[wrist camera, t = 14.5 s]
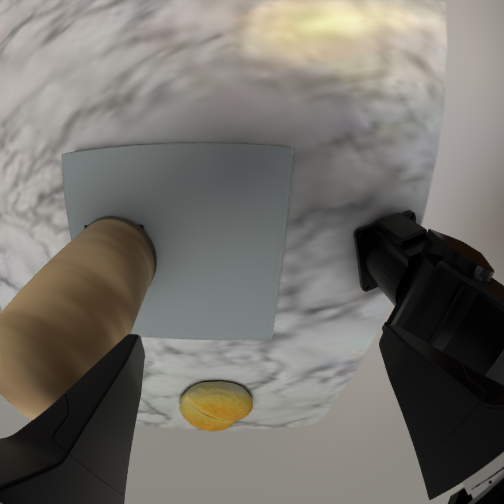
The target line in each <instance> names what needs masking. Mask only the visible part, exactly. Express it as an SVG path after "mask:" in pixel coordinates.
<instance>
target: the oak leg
mask: <svg viewBox="0 0 504 504" xmlns="http://www.w3.org/2000/svg"><path fill="white" fill-rule="evenodd" d="M156 266H157V256H156V251H155V247H154V245H153V242H152V240H151V239H150V237H149V236H148V234H147V233H146V232H145V231H144V230H143V228H141V227H140V226H139V225H138V224H136V223H135V222H133V221H132V220H130V219H127V218H125V217H121V216H113V215H112V216H105V217H102V218H99V219H97V220H95V221H93V222H92V223H91V224H89V225H88V226H87V227H86V228H85V229H84V230H83V231H82V232H81V233H80V234H79V235H77V236H76V237H75V238H74V239H73V240H72V241H71V242H70V243H68V244H67V245H66V246H65V247H64V248H63V249H62V250H61V251H60V252H58V253H57V254H56V255H55V256H54V257H53V258H52V259H51V260H50V261H49V262H48V263H47V264H46V265H45V266H44V267H43V268H42V269H41V270H40V271H39V272H38V273H37V274H36V275H35V276H34V277H33V278H32V279H31V280H30V281H29V282H28V283H27V284H26V285H25V286H24V287H23V288H22V289H21V291H20V292H19V293H18V294H17V295H16V296H15V297H14V298H13V299H12V301H11V302H10V303H9V304H8V305H7V306H6V307H5V309H4V310H3V311H2V312H1V313H0V394H1V395H2V396H3V397H4V398H5V399H6V400H7V401H8V402H9V403H10V404H12V405H13V406H14V407H15V408H16V409H17V410H19V411H20V412H21V413H22V414H24V415H25V416H27V417H28V418H30V419H31V420H33V419H35V418H36V417H37V416H39V415H40V414H41V413H42V412H44V411H45V410H46V409H47V408H49V407H50V406H51V405H52V404H53V403H54V402H55V401H56V400H57V399H58V398H59V397H61V396H62V395H63V394H64V393H66V391H67V390H68V389H69V388H70V387H71V386H72V385H73V384H74V383H75V382H76V381H78V380H79V379H80V378H81V377H82V376H83V375H84V374H85V373H86V372H87V371H88V370H89V369H90V368H91V367H92V366H94V365H95V364H96V363H97V362H98V361H99V360H100V359H101V358H102V357H103V356H104V355H105V354H107V353H108V352H109V351H110V350H111V349H112V348H113V347H114V346H115V345H116V344H117V343H119V342H120V341H121V340H122V339H123V338H124V337H125V336H126V335H128V334H131V331H132V329H133V326H134V323H135V321H136V318H137V315H138V313H139V310H140V308H141V305H142V302H143V300H144V297H145V295H146V293H147V290H148V288H149V285H150V284H151V282H152V280H153V277H154V275H155V272H156Z"/></svg>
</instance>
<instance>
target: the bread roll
mask: <svg viewBox="0 0 504 504" xmlns="http://www.w3.org/2000/svg"><path fill="white" fill-rule="evenodd" d="M179 405H180V411H181V413H182V415H183V417H184V418H185V419H186V420H187V421H188V422H189V423H190V424H191V425H193V426H195V427H197V428H199V429H202V430H206V431H221V430H224V429H227V428H229V427H230V426H232V425H233V424H234V423H235V422H236V420H240V419H242V418H244V417H246V416H247V415H248V414H249V413H250V412H251V410H252V408H253V401H252V399H251V396H250V395H249V394H248V392H247V391H246V390H245V389H244V388H243V387H242V386H239V385H237V384H234V383H229V382H223V381H220V382H202V383H199V384H196V385H194V386H192V387H191V388H189V389H188V390H187V392H186V393H185V394H184V395H183V396H182V397H181V398H180V402H179Z"/></svg>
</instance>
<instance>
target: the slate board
mask: <svg viewBox="0 0 504 504" xmlns="http://www.w3.org/2000/svg"><path fill="white" fill-rule="evenodd" d="M293 159H294V148H291V147H285V146H273V145H259V144H241V143H158V144H140V145H126V146H115V147H105V148H96V149H88V150H81V151H74V152H70V153H66V154H62V171H63V184H64V194H65V203H66V211H67V218H68V224H69V230H70V236H71V241H72V240H73V239H74V238H75V237H76V236H77V235H79V234H80V233H81V232H82V231H83V230H84V229H85V228H86V227H87V226H88V225H89V224H91V223H92V222H93V221H95V220H97V219H99V218H102V217H105V216H112V215H113V216H121V217H125V218H127V219H130V220H132V221H133V222H135V223H136V224H138V225H144V231H145V232H146V233H147V234H148V236H149V237H150V239H151V240H152V242H153V245H154V247H155V251H156V256H157V266H156V272H155V275H154V277H153V280H152V282H151V284H150V285H149V288H148V290H147V293H146V295H145V297H144V300H143V302H142V305H141V308H140V310H139V313H138V315H137V318H136V321H135V323H134V326H133V329H132V331H131V334H138V335H139V336H140V337H153V338H170V339H194V340H263V339H272V334H273V328H274V321H275V314H276V307H277V299H278V292H279V284H280V277H281V269H282V261H283V253H284V245H285V236H286V227H287V218H288V209H289V200H290V190H291V180H292V170H293Z"/></svg>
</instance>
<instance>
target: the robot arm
mask: <svg viewBox="0 0 504 504" xmlns="http://www.w3.org/2000/svg"><path fill="white" fill-rule="evenodd" d="M410 215H411V217H410ZM409 217H410V218H409ZM360 233H362V235H361V236H360V237H358V236H359V234H360ZM354 239H355V245H356V252H357V259H358V267H359V275H360V283H361V288H362V290H363V291H365V292H366V291H369V290H372V289H374V288H377V287H379V288H380V289H381V290H382V291H383V292H384V294H385V295H386V296H387V297H388V298H389V300H390V301H391V302H392V303H393V304H394V306H395V308H394V309H393V311H392V313H391V315H390V317H389V319H388V320H387V322H385V323H384V325H383V327H382V330H383V334H382V337H381V339H380V342H379V347H380V350H381V354H382V357H383V360H384V364H385V367H386V370H387V374H388V377H389V380H390V382H391V385H392V387H393V390H394V393H395V395H396V398H397V400H398V403H399V406H400V408H401V411H402V414H403V417H404V419H405V422H406V425H407V428H408V431H409V433H410V436H411V439H412V442H413V445H414V449H415V451H416V455H417V458H418V460H419V461H418V462H419V465H420V468H421V472H422V475H423V478H424V482H425V486H426V490H427V494H428V497H429V499H430V500H431V499H433V498H435V497H437V496H439V495H441V494H442V493H445V492H446V491H448V490H450V489H451V488H453V487H455V486H456V485H458V484H460V483H461V482H462V483H463V485H464V487H463V488H461V489H460V490H459V491H457V492H456V493H454V494H453V495H451V497H450V499H449V502H448V504H504V286H503V285H502V284H501V283H499V282H498V281H496V280H495V279H494V278H492V276H493V273H494V270H493V268H492V267H491V266H490V264H489V263H488V261H487V260H486V259H485V257H484V256H483V255H482V254H481V253H480V252H479V251H477V250H475V249H474V248H472V247H471V246H469V245H467V244H466V243H464V242H462V241H460V240H457V239H455V238H452V237H450V236H447V235H444V234H442V233H439V232H436V231H434V230H431V229H429V230H428V232H427V230H426V229H425V228H423V227H422V226H420V225H418V224H417V223H416V216H415V213H414V212H412V211H407V212H404V213H401V214H400V213H396V214H394V215H391V216H388V217H385V218H382V219H380V220H377V221H376V222H375V223H373V224H370V225H367V226H365V227H362V228H359V229H357V230H356V231H355V233H354ZM366 285H367V286H366ZM365 286H366V287H365ZM144 360H145V352H144V348H143V344H142V341H141V337H140V336H139V335H138V334H128V335H126V336H125V337H124V338H123V339H122V340H121V341H120V342H119V343H117V344H116V345H115V346H114V347H113V348H112V349H111V350H110V351H109V352H108V353H107V354H105V355H104V356H103V357H102V358H101V359H100V360H99V361H98V362H97V363H96V364H95V365H94V366H92V367H91V368H90V369H89V370H88V371H87V372H86V373H85V374H84V375H83V376H82V377H81V378H80V379H79V380H78V381H76V382H75V383H74V384H73V385H72V386H71V387H70V388H69V389H68V390H67V391H66V393H64V394H63V395H62V396H61V397H59V398H58V399H57V400H56V401H55V402H54V403H53V404H52V405H51V406H50V407H49V408H47V409H46V410H45V411H44V412H42V413H41V414H40V415H39V416H37V417H36V418H35V419H33V420H32V421H31V422H30V423H28V424H27V425H26V426H25V427H23V428H22V429H20V430H19V431H18V432H16V433H15V434H13V435H11V436H9V437H6V438H1V439H0V504H124V499H125V489H126V480H127V473H128V466H129V458H130V452H131V446H132V440H133V434H134V428H135V423H136V418H137V412H138V407H139V402H140V397H141V389H142V379H143V369H144Z"/></svg>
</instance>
